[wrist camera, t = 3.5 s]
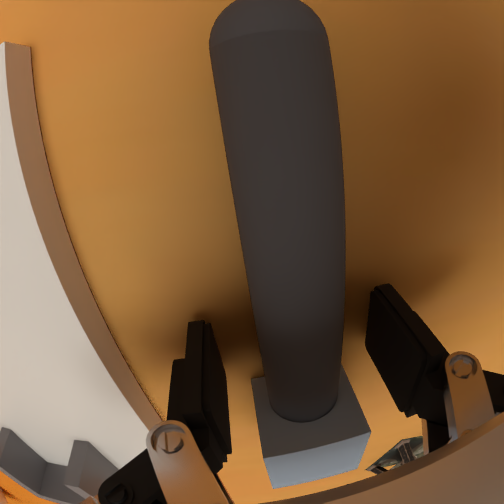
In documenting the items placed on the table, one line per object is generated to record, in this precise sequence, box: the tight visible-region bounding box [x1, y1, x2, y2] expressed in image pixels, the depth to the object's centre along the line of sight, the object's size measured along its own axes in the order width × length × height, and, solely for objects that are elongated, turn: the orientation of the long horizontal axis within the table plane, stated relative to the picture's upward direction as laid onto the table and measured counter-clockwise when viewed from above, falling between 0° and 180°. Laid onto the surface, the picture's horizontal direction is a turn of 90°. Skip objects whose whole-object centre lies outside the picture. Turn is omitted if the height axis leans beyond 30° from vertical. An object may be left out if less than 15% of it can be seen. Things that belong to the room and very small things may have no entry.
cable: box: [209, 0, 371, 489], centre depth 9 cm, size 17×4×4 cm, turn 8°
